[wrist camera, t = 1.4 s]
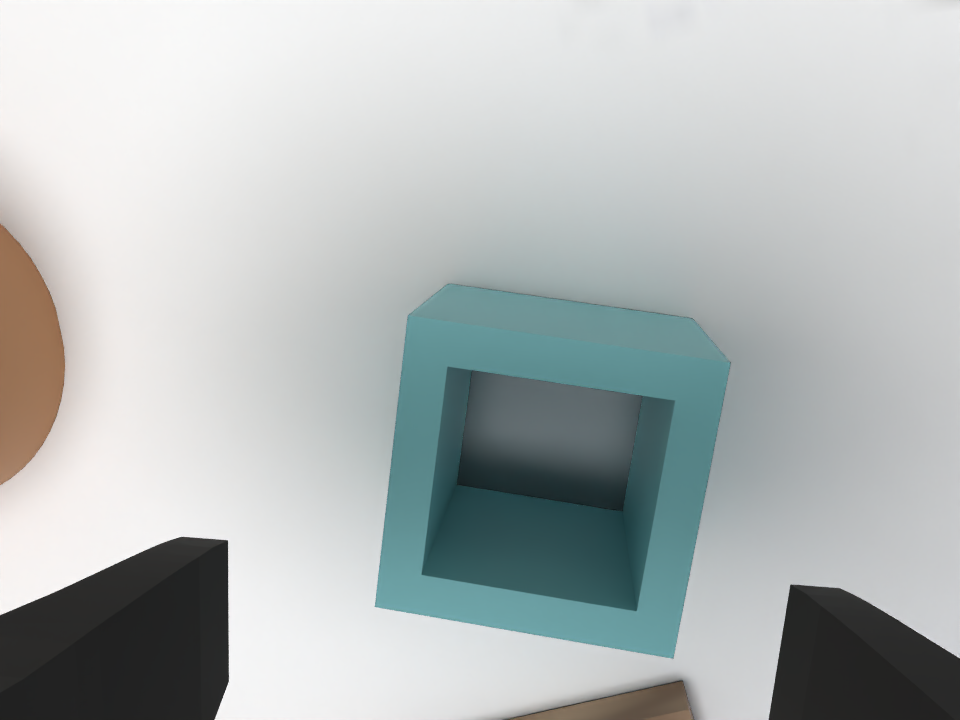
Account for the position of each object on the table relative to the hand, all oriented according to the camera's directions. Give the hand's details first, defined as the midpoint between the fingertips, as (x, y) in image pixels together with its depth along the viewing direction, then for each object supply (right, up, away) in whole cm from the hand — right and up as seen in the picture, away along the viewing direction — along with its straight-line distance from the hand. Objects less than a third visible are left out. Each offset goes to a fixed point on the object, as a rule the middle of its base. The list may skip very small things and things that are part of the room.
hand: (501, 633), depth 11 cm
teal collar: (+1, +2, +9) cm, 10 cm away
